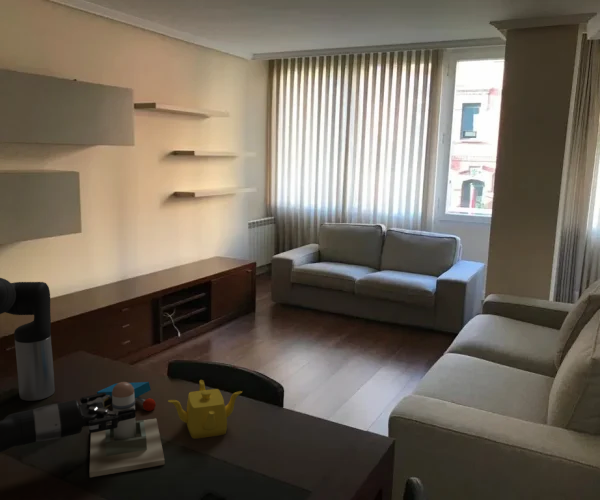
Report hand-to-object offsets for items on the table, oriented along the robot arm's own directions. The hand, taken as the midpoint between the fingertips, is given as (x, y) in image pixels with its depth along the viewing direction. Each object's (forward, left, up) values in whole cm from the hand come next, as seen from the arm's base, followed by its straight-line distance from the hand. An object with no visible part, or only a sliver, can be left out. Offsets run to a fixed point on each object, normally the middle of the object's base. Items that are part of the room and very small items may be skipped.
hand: (130, 404), depth 130 cm
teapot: (-4, +19, -11) cm, 22 cm away
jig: (0, -1, -11) cm, 11 cm away
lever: (-24, 0, -11) cm, 26 cm away
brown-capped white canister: (0, -2, -9) cm, 10 cm away
